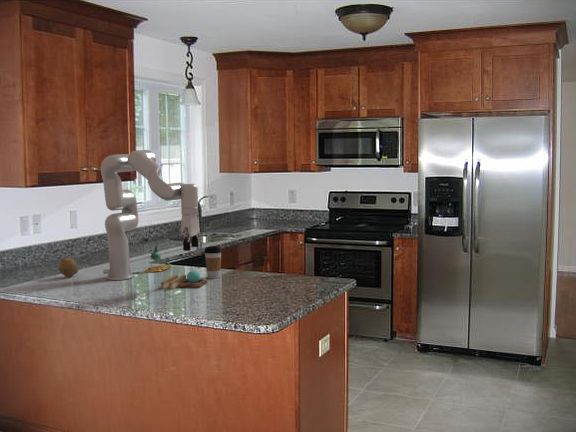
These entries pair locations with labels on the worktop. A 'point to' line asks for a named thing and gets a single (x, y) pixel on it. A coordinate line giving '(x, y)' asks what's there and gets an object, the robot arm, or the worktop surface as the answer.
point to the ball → (193, 276)
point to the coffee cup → (213, 261)
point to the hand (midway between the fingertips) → (190, 248)
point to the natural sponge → (68, 267)
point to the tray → (193, 285)
